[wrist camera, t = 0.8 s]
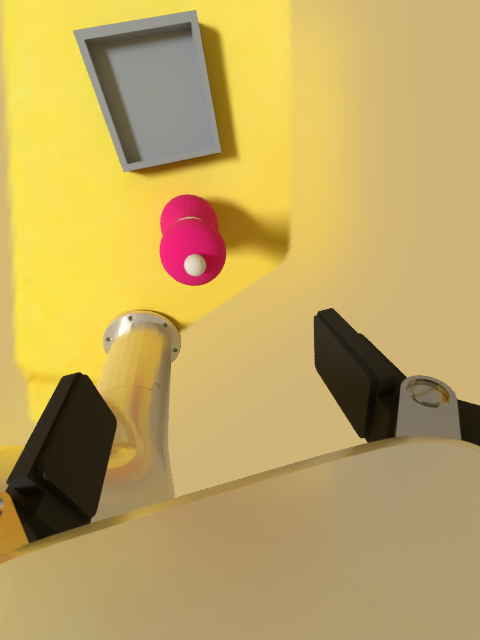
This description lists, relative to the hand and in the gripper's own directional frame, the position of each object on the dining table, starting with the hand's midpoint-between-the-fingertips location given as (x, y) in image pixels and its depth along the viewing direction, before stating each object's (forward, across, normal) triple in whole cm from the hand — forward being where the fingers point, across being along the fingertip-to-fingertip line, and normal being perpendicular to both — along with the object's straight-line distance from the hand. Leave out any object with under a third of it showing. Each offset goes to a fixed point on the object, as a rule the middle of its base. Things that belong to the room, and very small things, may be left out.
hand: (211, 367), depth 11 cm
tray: (+32, 0, -13) cm, 34 cm away
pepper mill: (+32, 0, 0) cm, 32 cm away
